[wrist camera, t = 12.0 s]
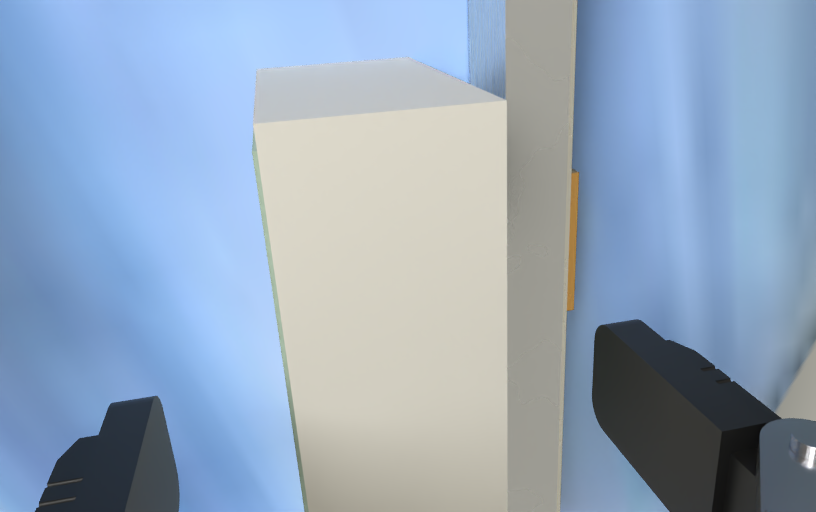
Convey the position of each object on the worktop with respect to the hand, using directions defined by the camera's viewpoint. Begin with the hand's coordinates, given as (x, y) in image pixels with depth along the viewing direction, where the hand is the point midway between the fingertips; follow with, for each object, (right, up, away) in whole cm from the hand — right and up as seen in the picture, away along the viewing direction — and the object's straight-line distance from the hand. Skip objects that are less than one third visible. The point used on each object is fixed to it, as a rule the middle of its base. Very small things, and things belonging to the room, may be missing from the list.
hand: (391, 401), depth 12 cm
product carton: (-1, +3, +7) cm, 8 cm away
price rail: (+3, +4, +8) cm, 9 cm away
